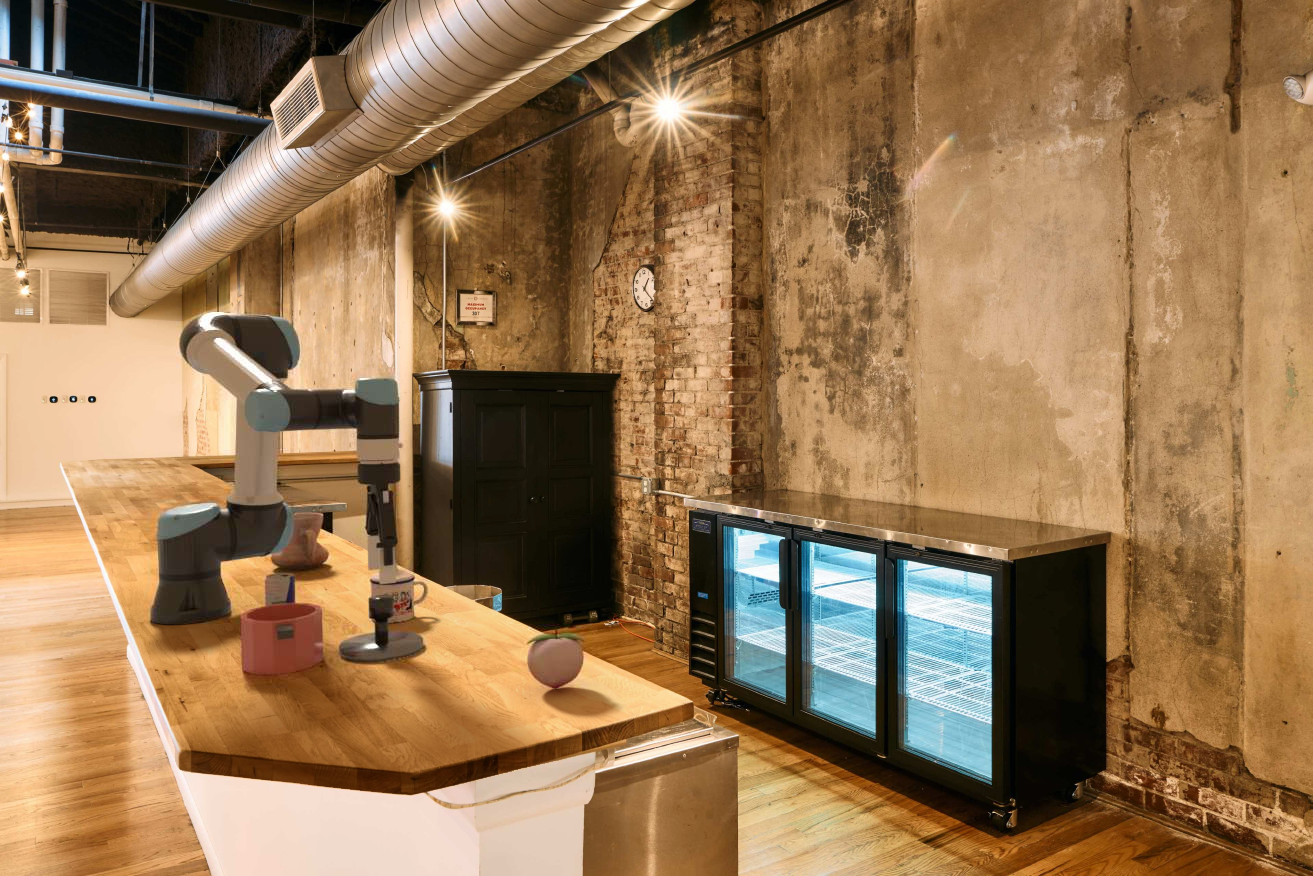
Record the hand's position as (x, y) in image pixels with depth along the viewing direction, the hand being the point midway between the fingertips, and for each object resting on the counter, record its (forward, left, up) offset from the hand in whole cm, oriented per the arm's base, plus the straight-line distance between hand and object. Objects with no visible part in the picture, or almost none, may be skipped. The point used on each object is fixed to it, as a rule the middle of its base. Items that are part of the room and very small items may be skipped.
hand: (381, 576), depth 158 cm
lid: (0, 0, -14) cm, 14 cm away
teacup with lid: (-10, +20, -14) cm, 27 cm away
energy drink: (-24, +1, -14) cm, 28 cm away
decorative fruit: (+40, -9, -14) cm, 43 cm away
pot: (-12, -12, -14) cm, 22 cm away
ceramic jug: (-65, +54, -14) cm, 86 cm away
